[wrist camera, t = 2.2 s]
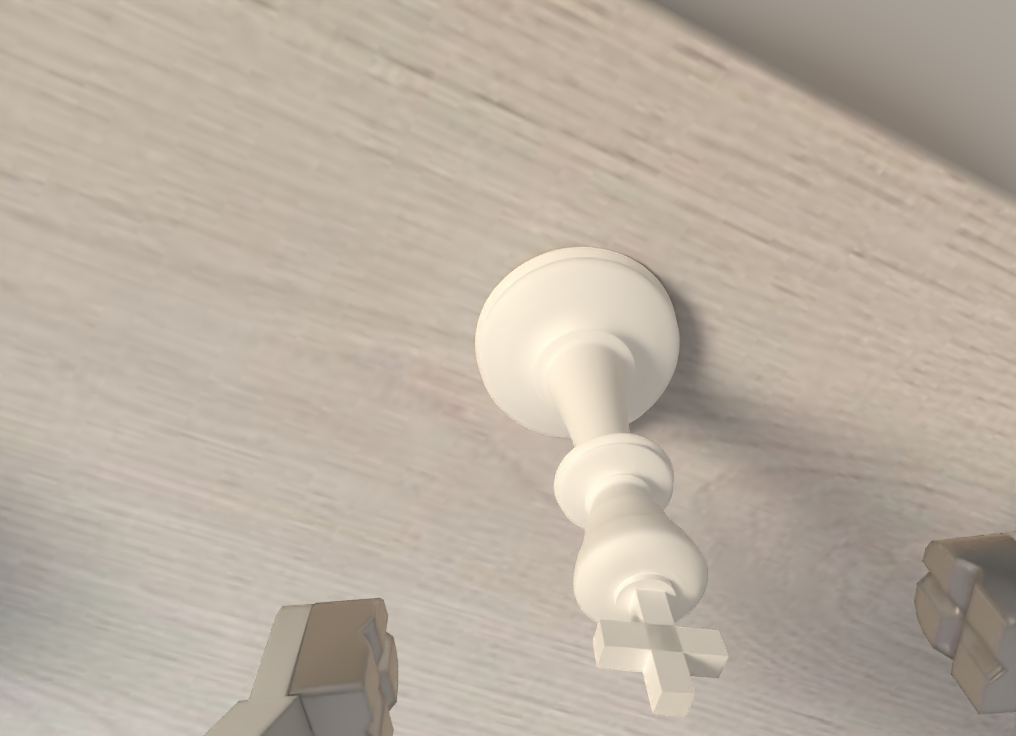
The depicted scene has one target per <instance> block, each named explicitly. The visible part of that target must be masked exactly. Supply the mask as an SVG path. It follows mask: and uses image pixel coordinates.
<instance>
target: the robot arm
mask: <svg viewBox="0 0 1016 736" xmlns="http://www.w3.org/2000/svg"><path fill="white" fill-rule="evenodd" d="M922 562H923V563H924V564H925V566H926V567H927V568H928V570H929V571H930V572H929V573H928V574H927V575H926V576H925V577H924V578H923V579H921V580H920V581H919V582H918V583H917V588H916V594H915V599H914V602H915V608H916V613H917V619H918V621H919V624H920V626H921V628H922V631H923V633H924V635H925V636H926V638H927V639H928V641H929V642H930V644H931V645H932V647H933V648H934V649H936V650H937V651H939V652H941V653H942V654H944V655H946V656H947V657H949V658H951V659H952V660H953V663H952V670H951V675H952V676H953V678H954V679H955V680H956V682H957V683H958V685H959V686H960V688H961V689H962V691H963V692H964V693H965V695H966V696H967V698H968V699H969V701H970V702H971V704H972V705H973V706H974V708H975V709H976V711H977V712H978V714H990V713H1004V712H1016V531H1014V532H1006V533H1000V534H988V535H980V536H971V537H962V538H953V539H944V540H935V541H931V542H930V543H929V545H928V546H927V547H926V548H925V552H924V556H923V560H922ZM387 621H388V613H387V610H386V606H385V603H384V600H383V599H381V598H373V599H360V600H347V601H334V602H321V603H315V604H305V605H291V606H282V608H281V609H280V610H279V611H278V613H277V614H276V616H275V619H274V622H273V625H272V628H271V632H270V635H269V638H268V641H267V644H266V647H265V650H264V653H263V657H262V660H261V663H260V666H259V669H258V672H257V675H256V679H255V682H254V685H253V688H252V691H251V694H250V697H249V700H244V701H238V702H237V703H236V704H235V705H234V706H233V707H232V708H231V709H230V710H229V711H228V712H227V713H226V714H225V715H224V716H223V717H222V718H221V719H220V720H219V721H218V722H217V723H216V724H215V725H214V726H213V727H212V728H211V729H210V730H209V731H208V732H207V733H206V734H205V735H204V736H393V726H392V722H391V718H390V714H389V711H390V709H391V708H392V707H393V706H394V705H395V703H396V702H397V692H398V659H397V651H396V646H395V642H394V637H393V636H391V635H390V634H389V633H387V632H386V629H387Z"/></svg>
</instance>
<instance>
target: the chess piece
mask: <svg viewBox="0 0 1016 736" xmlns="http://www.w3.org/2000/svg"><path fill="white" fill-rule="evenodd" d="M679 347H680V338H679V329H678V324H677V320H676V315H675V311H674V308H673V305H672V302H671V300H670V297H669V295H668V294H667V292H666V290H665V289H664V287H663V286H662V284H661V283H660V282H659V280H658V279H657V278H656V277H655V276H654V275H653V274H652V273H651V272H650V271H649V270H648V269H646V268H645V267H644V266H643V265H641V264H640V263H638V262H637V261H635V260H633V259H631V258H629V257H627V256H625V255H623V254H620V253H617V252H614V251H611V250H607V249H602V248H595V247H570V248H563V249H558V250H554V251H550V252H547V253H544V254H542V255H539V256H537V257H534V258H532V259H530V260H528V261H527V262H525V263H523V264H522V265H520V266H519V267H517V268H516V269H514V270H513V271H512V272H511V273H509V274H508V275H507V276H506V277H505V278H504V279H503V280H502V281H501V282H500V283H499V284H498V285H497V287H496V288H495V289H494V290H493V292H492V293H491V295H490V296H489V298H488V299H487V301H486V303H485V305H484V307H483V309H482V311H481V314H480V317H479V320H478V324H477V328H476V335H475V352H476V359H477V363H478V367H479V370H480V373H481V376H482V379H483V382H484V385H485V387H486V389H487V391H488V393H489V395H490V396H491V398H492V399H493V401H494V402H495V403H496V405H497V406H498V407H499V408H500V409H501V410H502V411H503V412H504V413H505V414H506V415H507V416H508V417H510V418H511V419H512V420H514V421H515V422H517V423H518V424H520V425H522V426H523V427H525V428H527V429H529V430H532V431H534V432H537V433H540V434H543V435H547V436H551V437H557V438H569V439H572V442H573V444H574V446H575V448H574V449H572V450H571V451H570V452H569V453H568V454H567V455H566V456H565V458H564V459H563V460H562V462H561V463H560V465H559V467H558V469H557V472H556V475H555V480H554V493H555V497H556V500H557V502H558V504H559V506H560V508H561V509H562V510H563V512H564V513H565V515H566V516H567V517H568V519H569V520H570V521H571V522H573V523H574V524H575V525H577V526H578V527H580V528H582V529H584V530H585V536H584V540H583V544H582V546H581V548H580V551H579V553H578V557H577V561H576V565H575V570H574V577H573V589H574V594H575V598H576V600H577V603H578V605H579V606H580V608H581V609H582V611H583V612H584V613H585V614H586V615H587V616H588V617H589V618H590V619H592V620H593V621H594V622H596V623H598V625H597V629H596V632H595V635H594V638H593V641H592V643H593V648H594V654H595V660H596V665H597V668H600V669H613V670H625V671H637V672H643V675H644V680H645V684H646V688H647V692H648V696H649V701H650V705H651V709H652V713H653V714H655V715H669V716H682V717H686V715H687V713H688V711H689V709H690V706H691V704H692V702H693V700H694V697H695V695H696V693H695V690H694V686H693V683H692V680H691V677H690V676H697V677H710V678H719V676H720V674H721V672H722V670H723V667H724V665H725V663H726V661H727V659H728V653H727V651H726V648H725V645H724V643H723V640H722V637H721V634H720V632H719V630H713V629H702V628H691V627H680V626H675V624H674V623H675V622H677V621H679V620H680V619H682V618H683V617H684V616H686V615H687V614H688V613H689V612H690V611H692V610H693V608H694V607H695V606H696V605H697V604H698V602H699V601H700V599H701V598H702V596H703V594H704V592H705V589H706V586H707V581H708V569H707V564H706V561H705V558H704V556H703V554H702V552H701V551H700V549H699V548H698V546H697V545H696V544H695V543H694V541H693V540H692V539H691V538H690V537H689V536H688V535H687V534H686V533H685V532H684V531H683V530H682V529H681V528H680V527H679V526H678V525H676V524H675V523H673V522H672V521H671V520H670V519H669V518H668V517H667V515H666V514H665V513H664V510H665V508H666V507H667V505H668V503H669V501H670V499H671V496H672V492H673V482H674V471H673V467H672V463H671V461H670V459H669V457H668V456H667V454H666V453H665V451H664V450H663V449H662V448H661V447H660V446H659V445H657V444H656V443H654V442H653V441H651V440H649V439H647V438H645V437H642V436H639V435H636V434H631V433H630V428H629V423H631V422H633V421H634V420H636V419H637V418H639V417H640V416H641V415H643V414H644V413H645V412H646V411H647V410H648V409H650V408H651V407H652V406H653V405H654V404H655V402H656V401H657V400H658V399H659V398H660V396H661V395H662V394H663V392H664V391H665V389H666V388H667V386H668V384H669V383H670V381H671V378H672V376H673V374H674V371H675V368H676V365H677V361H678V356H679Z"/></svg>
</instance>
